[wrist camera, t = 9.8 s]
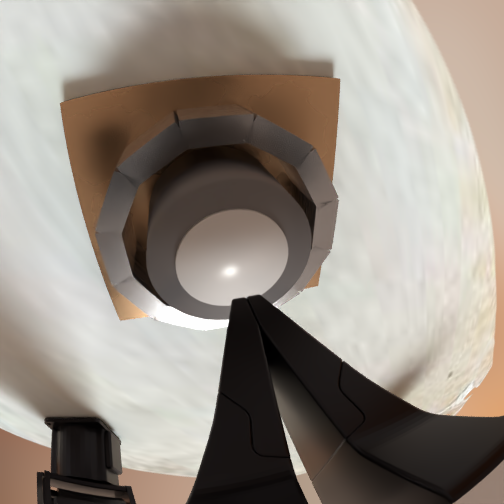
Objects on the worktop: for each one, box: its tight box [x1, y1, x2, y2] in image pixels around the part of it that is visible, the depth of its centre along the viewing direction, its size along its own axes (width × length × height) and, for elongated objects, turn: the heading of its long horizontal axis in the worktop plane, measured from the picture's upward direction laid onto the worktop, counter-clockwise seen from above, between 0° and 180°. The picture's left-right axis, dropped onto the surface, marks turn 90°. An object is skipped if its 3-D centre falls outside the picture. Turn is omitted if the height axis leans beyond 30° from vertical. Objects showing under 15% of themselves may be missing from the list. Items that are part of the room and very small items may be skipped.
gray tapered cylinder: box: [146, 147, 312, 320], centre depth 12 cm, size 6×6×4 cm
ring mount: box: [60, 75, 340, 330], centre depth 13 cm, size 12×12×3 cm
